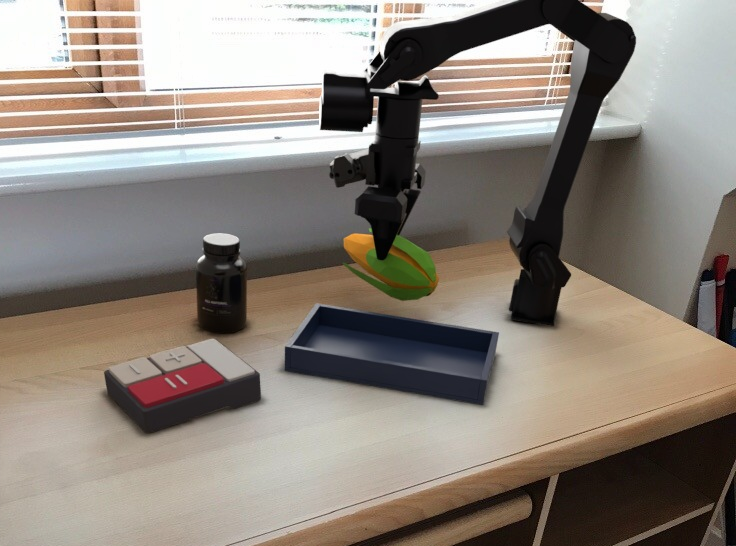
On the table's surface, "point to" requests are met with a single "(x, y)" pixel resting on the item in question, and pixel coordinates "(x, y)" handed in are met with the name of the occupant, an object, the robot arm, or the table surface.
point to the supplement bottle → (221, 285)
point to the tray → (393, 353)
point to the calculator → (182, 384)
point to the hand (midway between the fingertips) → (386, 251)
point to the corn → (394, 267)
